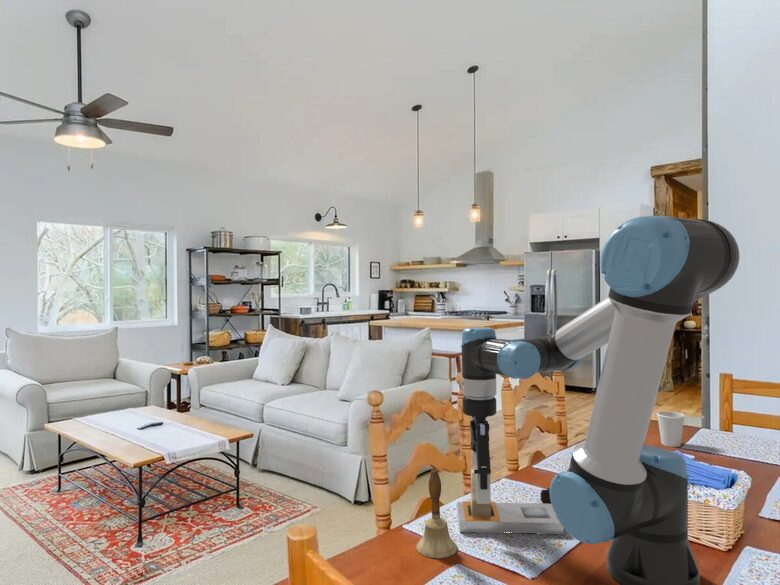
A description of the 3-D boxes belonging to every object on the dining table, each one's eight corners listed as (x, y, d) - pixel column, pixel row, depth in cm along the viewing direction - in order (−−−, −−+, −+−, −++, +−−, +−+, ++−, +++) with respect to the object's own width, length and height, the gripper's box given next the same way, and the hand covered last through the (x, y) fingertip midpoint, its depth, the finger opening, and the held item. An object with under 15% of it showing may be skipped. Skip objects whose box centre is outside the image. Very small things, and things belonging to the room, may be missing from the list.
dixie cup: (651, 442, 175) (650, 412, 175) (668, 439, 179) (667, 410, 179) (673, 449, 168) (673, 418, 168) (691, 445, 171) (691, 415, 171)
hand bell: (424, 561, 101) (423, 479, 101) (411, 541, 109) (410, 465, 109) (463, 555, 104) (462, 475, 103) (448, 536, 112) (447, 461, 111)
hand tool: (554, 509, 125) (554, 489, 125) (539, 504, 128) (539, 485, 128) (593, 488, 137) (593, 471, 137) (579, 484, 140) (579, 467, 140)
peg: (490, 526, 116) (490, 472, 116) (472, 526, 116) (471, 472, 116) (488, 518, 120) (488, 466, 120) (471, 518, 120) (470, 466, 120)
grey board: (563, 534, 111) (563, 522, 111) (459, 532, 113) (459, 520, 113) (552, 514, 121) (552, 502, 121) (457, 512, 123) (457, 501, 123)
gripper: (459, 385, 130) (460, 470, 130) (466, 409, 105) (467, 514, 106) (489, 385, 130) (491, 471, 130) (503, 409, 105) (505, 514, 105)
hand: (480, 490), depth 118 cm, fingers open, 13 cm apart
